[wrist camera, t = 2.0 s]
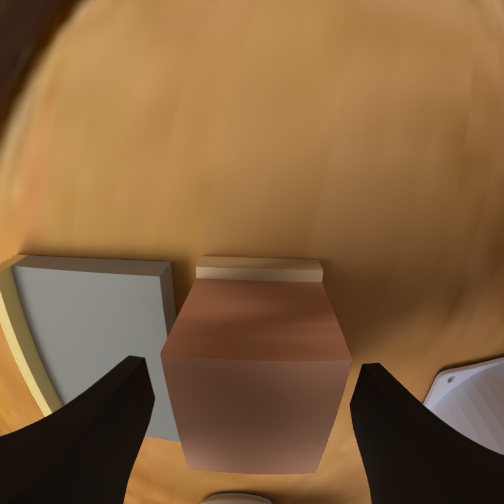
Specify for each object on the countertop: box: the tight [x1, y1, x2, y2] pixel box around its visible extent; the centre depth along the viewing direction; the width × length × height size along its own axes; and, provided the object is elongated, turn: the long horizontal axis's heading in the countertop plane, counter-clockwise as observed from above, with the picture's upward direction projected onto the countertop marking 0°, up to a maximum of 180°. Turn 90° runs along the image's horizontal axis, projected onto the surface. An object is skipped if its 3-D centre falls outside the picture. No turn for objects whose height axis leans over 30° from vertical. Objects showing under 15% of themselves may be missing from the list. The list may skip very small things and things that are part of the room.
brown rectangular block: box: [160, 256, 352, 474], centre depth 10 cm, size 4×6×6 cm
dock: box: [0, 254, 180, 442], centre depth 12 cm, size 9×10×3 cm
